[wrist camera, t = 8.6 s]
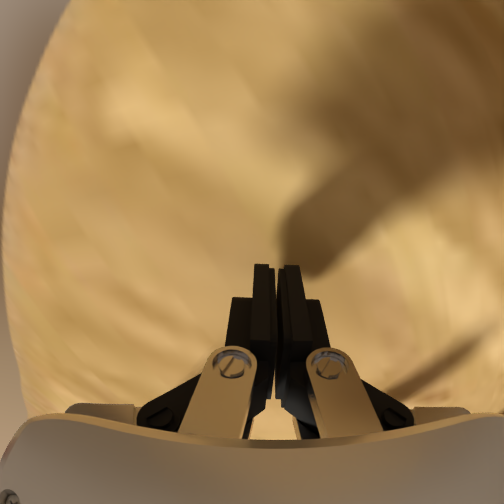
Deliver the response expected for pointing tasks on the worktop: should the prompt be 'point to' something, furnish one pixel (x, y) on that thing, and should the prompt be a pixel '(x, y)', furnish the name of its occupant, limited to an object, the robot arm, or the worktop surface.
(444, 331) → the worktop surface
